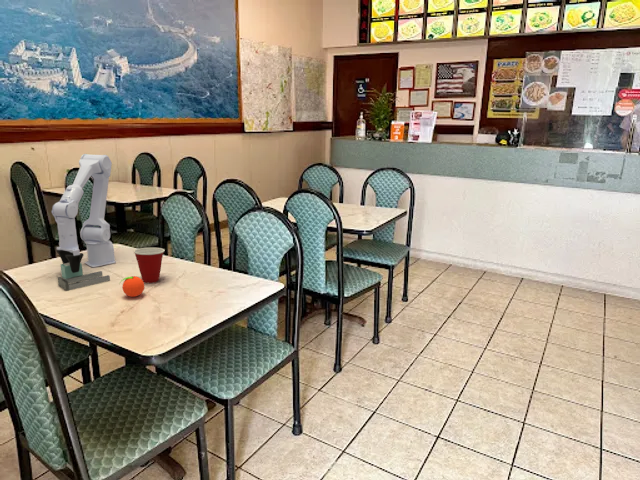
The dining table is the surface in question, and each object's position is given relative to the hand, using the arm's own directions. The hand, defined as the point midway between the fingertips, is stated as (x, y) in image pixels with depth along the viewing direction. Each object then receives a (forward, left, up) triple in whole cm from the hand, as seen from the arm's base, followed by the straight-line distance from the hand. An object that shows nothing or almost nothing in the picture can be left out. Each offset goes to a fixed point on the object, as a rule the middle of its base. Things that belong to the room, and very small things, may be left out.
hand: (71, 269), depth 168 cm
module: (0, 0, -3) cm, 3 cm away
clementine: (-7, +33, -3) cm, 34 cm away
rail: (-1, +10, -3) cm, 10 cm away
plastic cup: (-19, +23, -3) cm, 30 cm away
